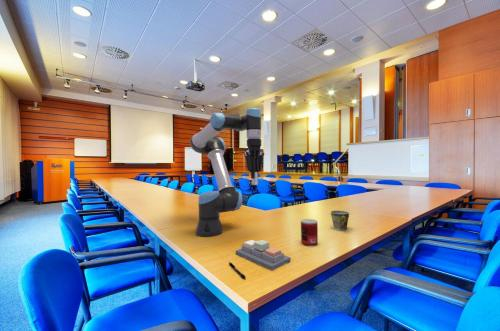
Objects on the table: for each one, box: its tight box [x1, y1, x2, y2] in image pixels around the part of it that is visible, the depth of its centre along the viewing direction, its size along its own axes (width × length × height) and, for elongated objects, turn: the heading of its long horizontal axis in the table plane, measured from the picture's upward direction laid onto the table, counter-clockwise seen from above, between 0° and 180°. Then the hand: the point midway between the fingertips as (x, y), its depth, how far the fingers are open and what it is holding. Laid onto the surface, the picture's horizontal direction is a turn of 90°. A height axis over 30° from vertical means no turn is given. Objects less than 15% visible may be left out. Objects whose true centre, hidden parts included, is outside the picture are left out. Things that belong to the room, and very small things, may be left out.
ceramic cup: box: [330, 210, 350, 232], centre depth 126 cm, size 13×10×10 cm
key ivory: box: [243, 239, 257, 248], centre depth 94 cm, size 4×4×2 cm
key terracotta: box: [265, 247, 282, 257], centre depth 85 cm, size 4×4×2 cm
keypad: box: [235, 243, 291, 271], centre depth 90 cm, size 21×11×4 cm, turn 43°
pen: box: [228, 261, 247, 281], centre depth 78 cm, size 14×2×1 cm, turn 28°
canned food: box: [300, 218, 319, 247], centre depth 105 cm, size 8×8×11 cm
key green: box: [254, 239, 270, 251], centre depth 90 cm, size 4×4×2 cm
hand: (254, 184), depth 111 cm, fingers closed
